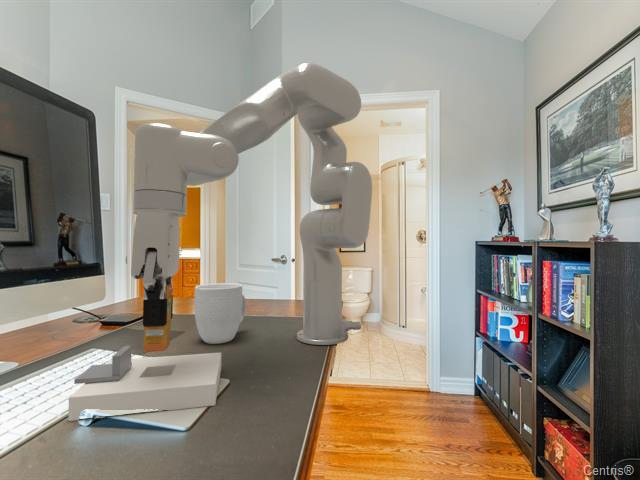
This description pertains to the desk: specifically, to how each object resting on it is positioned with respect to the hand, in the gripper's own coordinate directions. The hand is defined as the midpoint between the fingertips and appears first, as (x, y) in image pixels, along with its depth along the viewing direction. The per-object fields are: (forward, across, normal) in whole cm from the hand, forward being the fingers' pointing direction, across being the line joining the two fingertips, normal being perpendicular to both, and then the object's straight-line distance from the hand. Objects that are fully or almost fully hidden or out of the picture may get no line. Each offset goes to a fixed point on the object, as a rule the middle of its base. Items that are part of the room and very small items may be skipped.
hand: (158, 321), depth 50 cm
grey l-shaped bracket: (+8, 0, -7) cm, 10 cm away
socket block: (+11, 0, 0) cm, 11 cm away
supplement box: (+4, 0, 0) cm, 4 cm away
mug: (+11, -27, +8) cm, 30 cm away
